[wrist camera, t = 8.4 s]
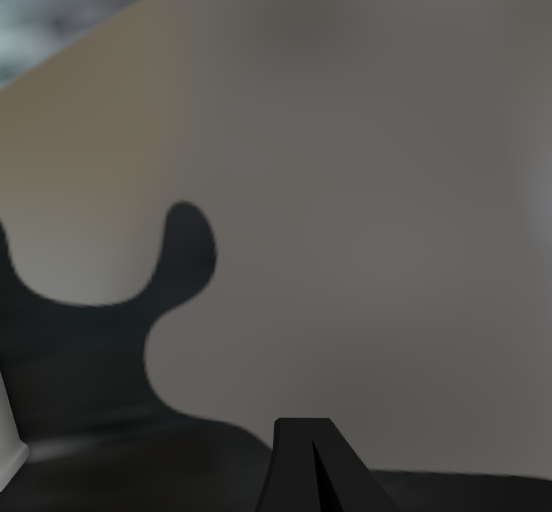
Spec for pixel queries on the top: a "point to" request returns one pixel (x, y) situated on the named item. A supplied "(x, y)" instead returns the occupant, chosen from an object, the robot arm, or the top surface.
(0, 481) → the tube
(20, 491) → the top surface
